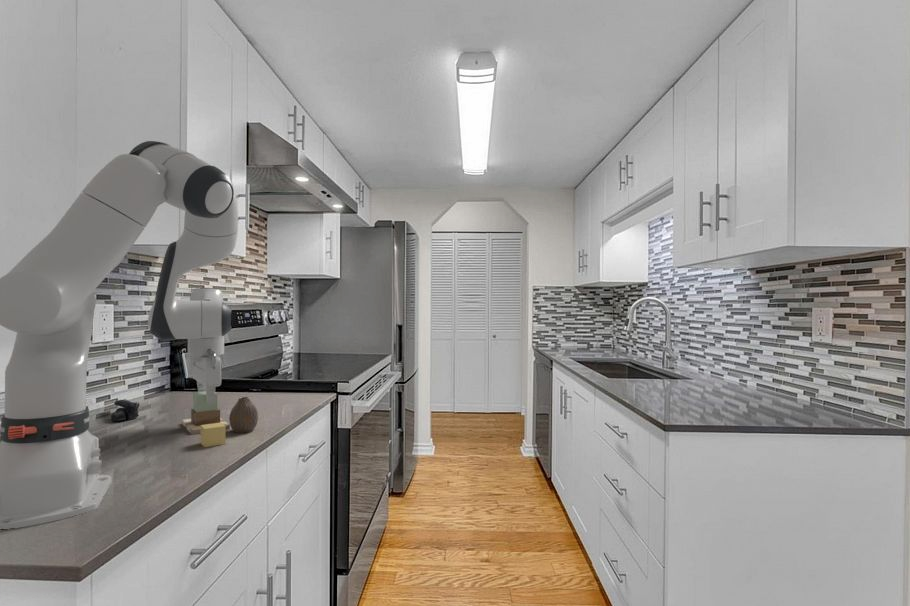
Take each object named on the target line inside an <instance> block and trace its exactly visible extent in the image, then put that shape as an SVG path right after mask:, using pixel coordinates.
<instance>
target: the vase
mask: <svg viewBox="0 0 910 606" xmlns="http://www.w3.org/2000/svg"><path fill="white" fill-rule="evenodd" d="M228 419H229V425H230V429H231V430H233V432H234V433H236V434H246V433H250V432H252V431H254V430H255V428H256V427H257V424H258V420H259V413H258V408H257V407H256V406H255V404H253V402H252V400H251V399H250V397H249V396H244V397H243V396H242V397H239V398H238V400H237V402H236V403H235V405H234V406H233V407H232V408H231V409H230V414H229V417H228Z"/></svg>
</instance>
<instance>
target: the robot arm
mask: <svg viewBox="0 0 910 606" xmlns="http://www.w3.org/2000/svg"><path fill="white" fill-rule="evenodd" d="M164 203H166V204H168V205H170V206H173V207H175V208H178V209H180V210H182V211H184V219H183V221H184V222H183V223H184V224H183V225H184V226H183V231H182V234H180V237H179V238H178V239H177V240H176V241H172V242H171V243H169V245H168V247H167V248H166V250H165V253H164V256H163V257H164V258H163V261H162V265H161V269H160V273H159V279H158V283H157V287H156V291H155V297H154V300H153V303H152V305H151V308H150V310H149V314H148V317H147V325H148V326H147V327H148V329H149V332H150V334H151V335H152V336H153V337H155V338H156V339H158V340H160V341H161V342H167V341H175V340H187V356H189V363H190V373H191V377H192V379H193V380H195V381H196V385H197V386H196V387H197V392H203V391H206V395H205V401H206V402H207V403H211V402H213V401H214V393H215V392H216V388H217V387H220V386H221V385H222V363H221V362H222V361H221V358H220V356H222V355H224V354H225V335H227V334H228V333H229V332H230V331H231V330H233V328H232V321H231V320H232V310H233V309H232V308H231V307H230V306H229V305H228V304H227V303H225V301H224V297H223V292H222V290H220V289H218V288H214V287H200V288H199V287H198V288H195V289H192V290H191V292H190V296H189V300H186V299H185V300H181V299H180V300H179V299H176V293H177V289H178V285H179V281H180V279H181V278H182V276H183V275H185V274H186V273H189V272H190V271H193V270H196V269H200V268H204V267H207V266H212V265H215V264H219V263H220V262H222V261H224V260H225V259H227V258H228V257H229V256H230V255H231V254H232V253H233V252H234V250H235V248H236V243H237V238H238V225H239V214H238V213H239V212H238V203H237V196H236V192H235V190H234V185H233V182H232V180H231V178H230V177H229V176H228V174H226V173H225V172H224V171H223V170H221V169H220V168H219V167H218V166H215V165H210V164H209V163H208V162H206V161H204V160H202V159H200V158H199V157H197V156H196V155H194V154H193V153H191V152H188V151H185V150H183V149H180V148H177V147H174V146H172V145H170V144H168V143H165V142H163V141H157V140H147V141H143V142H141V143H139V144H138V145H136V146H135V147H133V148H132V149H131V150H130V151H129V153H124V154H119V155H117V156H115V157H114V158H112V160H110V161H109V162H108V163H107V164H106V165H105V166H104V167H103V168H101V169H100V170H99V171H98V173H96V174H95V176H93V177H92V178H91V179H90V181H89V182H88V183H87V185H85V187H84V189H82V191H81V192H80V193H79V194H78V196H77V198H76V199H75V200H74V201H73V203H72V204H71V206H70V207H69V208H68V210H67V211H66V212H65V214H64V215H63V216H62V218H61V219H60V220H59V221H58V223H57V224H56V225H55V227H54V228H52V230H51V231H50V232H49V233H48V234H47V235H46V236H45V237H44V238H43V239H41V241H40V242H38V244H37V245H35V246H34V247H33V248H32V249H30V251H29V252H28V253H27V254H26V255H24V257H23V258H22V259H21V260H20V261H19V262H18V263H16V265H15V266H14V267H13V268H12V269H10V270H9V272H7V273H5V275H3V276H2V277H0V326H2V327H3V328H5V329H7V330H9V331H12V332H13V333H14V332H15V333H16V336H15V341H14V345H13V349H12V352H11V356H10V358H9V361H8V363H7V365H6V368H5V371H4V415H3V416H1V418H0V419H1V420H0V440H1V442H0V529H8V530H10V529H9V528H15V529H19V528H20V527H21V528H26V527H31V526H32V527H33V526H35V525H36V526H38V525H42V524H46V523H51V522H56V521H60V520H64V519H67V518H68V517H69V518H71V517H72V516H73V517H75V515H76V516H79V514H80V515H83V514H86V513H88V511H89V512H91V511H94V510H96V509H97V508H98V507H99V506H100V504H101V502H102V501H103V498H104V497H105V495H106V493H107V491H108V489H109V488H110V486H111V484H112V482H113V479H112V475H109V474H101V473H102V468H103V460H102V459H99V457H101V452H102V451H101V450H102V449H101V448H99V438H98V437H97V436H96V435H93V434H92V433H91V432H90V431H89V428H90V419H91V418H90V417H91V415H90V410H89V408H88V407H87V369H88V360H89V359H88V358H89V351H90V348H91V347H90V346H91V340H92V334H93V327H94V325H93V324H94V316H95V308H96V304H97V303H96V302H97V301H96V297H95V293H94V291H95V290H96V289H97V288H98V287H99V285H100V284H101V283H102V282H103V281H104V280H105V279H106V278H107V276H108V275H109V274H110V273H111V272H112V271H113V270H114V269H115V268H116V267H118V265H120V264H121V262H122V261H123V259H124V258H125V257H126V255H127V254H128V253H129V251H130V249H132V247H133V246H134V245H135V243H136V242H137V240H138V239H139V237H140V235H141V234H142V233H143V231H144V230H145V228H146V227H147V226H148V224H149V222H150V221H151V219H152V218H153V217H154V214H155V212H156V211H157V209H158V207H159V206H160V205H162V204H164ZM109 485H110V486H109ZM103 496H104V497H103ZM98 505H99V506H98ZM93 509H94V510H93ZM90 510H91V511H90ZM85 512H86V513H85ZM82 513H83V514H82Z"/></svg>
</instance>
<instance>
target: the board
mask: <svg viewBox="0 0 910 606" xmlns="http://www.w3.org/2000/svg"><path fill="white" fill-rule="evenodd" d="M181 423H182V425H183V426H184V428H185V427H186V428H185V429H186V430H187V431H188V432H189V433H190V435H198V434H201V425H200V426H195V425H194V424H193V423H192V422H191V418H186V419H185V418H184V419H182V422H181ZM220 423H222V424H224V425H225V426H226V430H227V431H228V430H230V429H231V426H230V423H228V422H227V421H225V420H224V419H223V418H221V417H220Z"/></svg>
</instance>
